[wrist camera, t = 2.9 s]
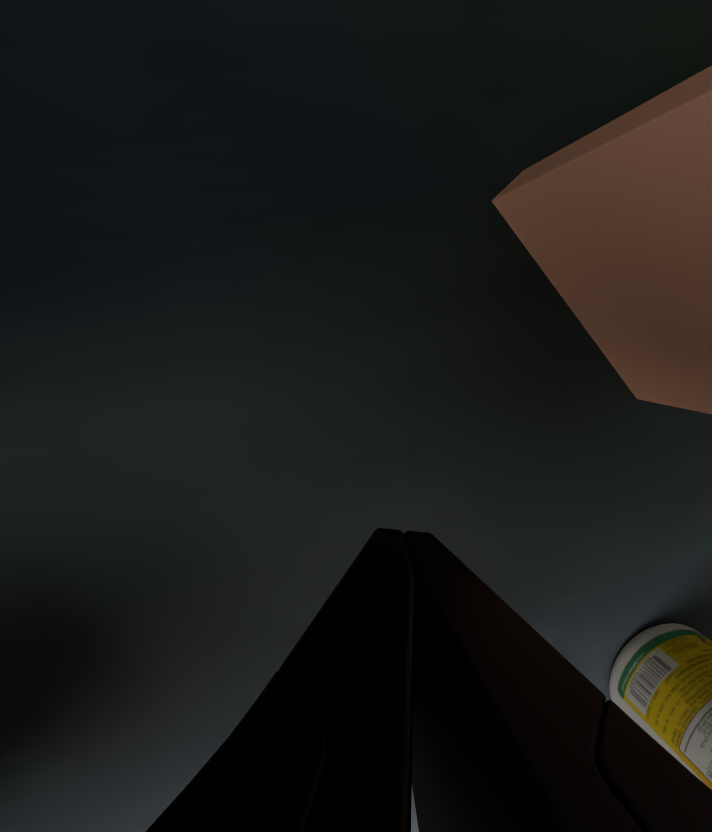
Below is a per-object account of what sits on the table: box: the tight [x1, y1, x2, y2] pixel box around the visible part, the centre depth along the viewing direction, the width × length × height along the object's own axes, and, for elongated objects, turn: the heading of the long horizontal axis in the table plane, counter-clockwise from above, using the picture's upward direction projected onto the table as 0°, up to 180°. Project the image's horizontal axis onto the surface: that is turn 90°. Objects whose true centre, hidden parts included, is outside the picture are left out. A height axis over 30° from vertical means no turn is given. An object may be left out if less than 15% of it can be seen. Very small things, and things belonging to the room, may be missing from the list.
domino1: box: [492, 66, 712, 414], centre depth 15 cm, size 2×10×10 cm, turn 43°
